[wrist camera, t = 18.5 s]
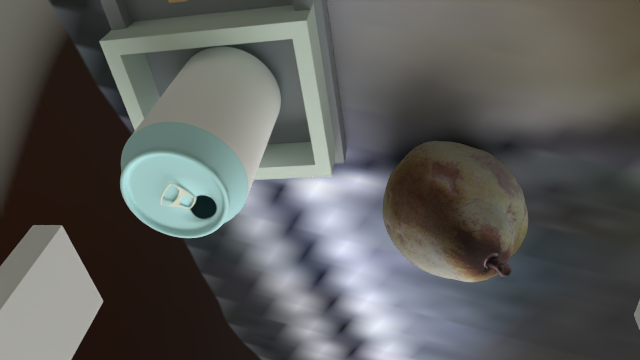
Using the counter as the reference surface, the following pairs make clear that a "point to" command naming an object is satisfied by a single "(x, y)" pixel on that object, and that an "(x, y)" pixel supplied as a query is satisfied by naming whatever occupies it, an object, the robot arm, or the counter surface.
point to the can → (201, 144)
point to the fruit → (455, 211)
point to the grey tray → (252, 37)
